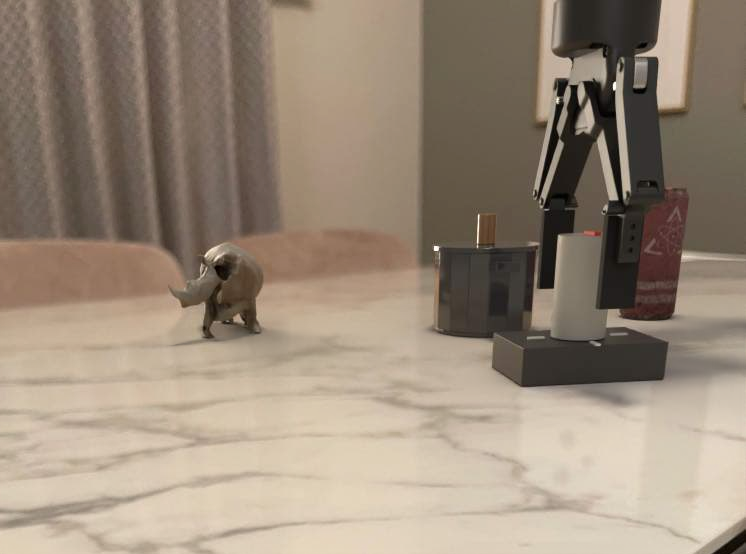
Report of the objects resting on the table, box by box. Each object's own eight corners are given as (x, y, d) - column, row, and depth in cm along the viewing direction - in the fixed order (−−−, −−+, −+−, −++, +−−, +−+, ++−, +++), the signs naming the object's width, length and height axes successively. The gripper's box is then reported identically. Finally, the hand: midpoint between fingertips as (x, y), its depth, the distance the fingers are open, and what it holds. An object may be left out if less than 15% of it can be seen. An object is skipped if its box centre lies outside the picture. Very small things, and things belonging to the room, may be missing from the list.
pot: (506, 316, 101) (510, 242, 98) (554, 339, 87) (561, 253, 83) (419, 320, 100) (420, 245, 97) (453, 343, 85) (456, 256, 82)
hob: (619, 360, 76) (623, 324, 75) (665, 380, 68) (671, 340, 67) (490, 366, 75) (492, 329, 74) (522, 387, 67) (525, 347, 66)
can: (678, 314, 100) (695, 186, 95) (667, 321, 95) (684, 187, 90) (626, 311, 103) (639, 187, 98) (613, 318, 98) (626, 188, 93)
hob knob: (542, 333, 72) (550, 229, 69) (591, 331, 73) (601, 228, 69) (562, 341, 68) (571, 232, 65) (614, 339, 69) (625, 231, 65)
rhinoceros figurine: (283, 295, 103) (252, 189, 91) (275, 380, 96) (241, 278, 84) (221, 302, 104) (182, 198, 92) (209, 386, 97) (165, 286, 85)
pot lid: (519, 249, 96) (522, 210, 95) (556, 257, 86) (559, 214, 84) (421, 252, 95) (422, 213, 93) (446, 261, 84) (447, 217, 83)
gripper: (505, 21, 72) (493, 282, 80) (633, -54, 49) (596, 321, 57) (591, 21, 72) (569, 280, 81) (754, -53, 50) (701, 317, 58)
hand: (580, 298), depth 69 cm, fingers open, 13 cm apart
